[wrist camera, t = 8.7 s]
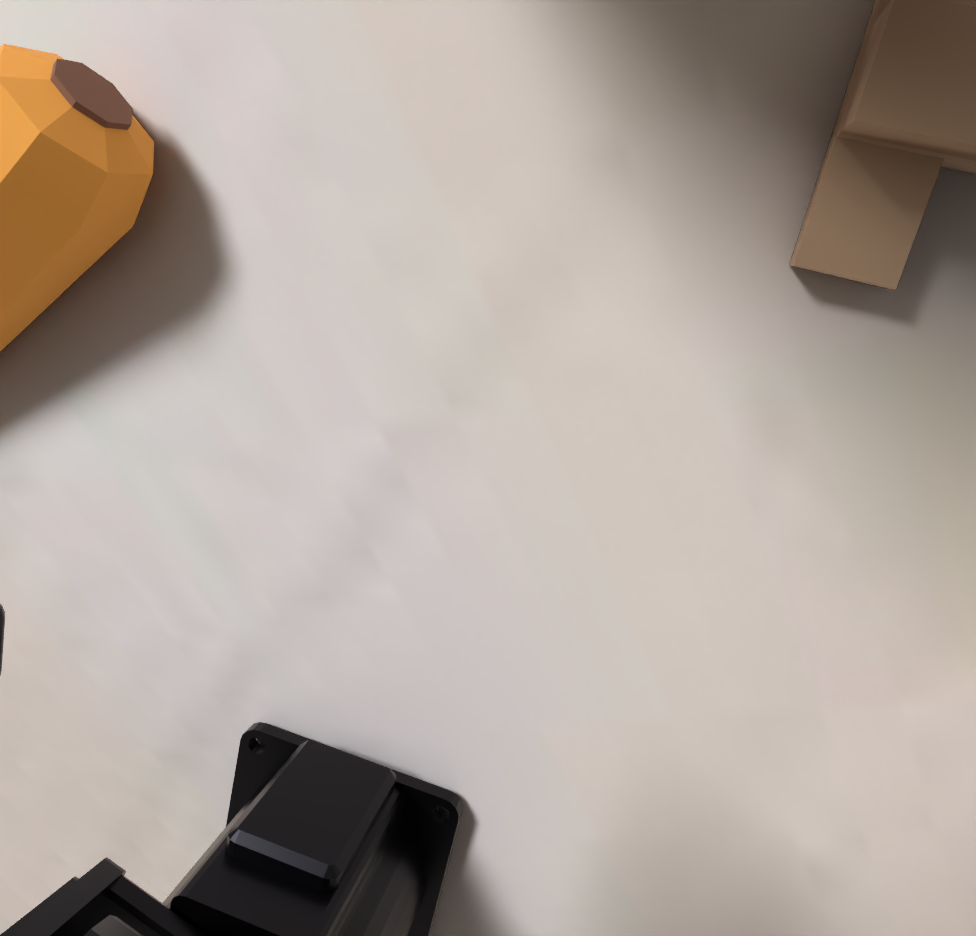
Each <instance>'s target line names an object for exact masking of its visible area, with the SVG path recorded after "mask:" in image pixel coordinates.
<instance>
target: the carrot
mask: <svg viewBox="0 0 976 936" xmlns="http://www.w3.org/2000/svg"><path fill="white" fill-rule="evenodd" d="M132 111H133V109H132V107H131V106H130V105H129V104H128V102H127V101H126V100H125V99H124V97H123V96H122V95H121V94H120V92H119V91H118V90H117V89H116V87H115V86H114V85H113V84H112V83H111V82H109V81H108V80H106V79H105V78H103V77H102V76H100V75H99V74H97V73H96V72H94V71H93V70H91V69H90V68H89V67H87V66H86V65H84V64H83V63H79V62H74V61H68V60H64V59H63V58H61V57H60V56H58V55H57V54H53V53H48V52H42V51H37V50H32V49H27V48H22V47H17V46H12V45H7V44H4V45H2V46H1V47H0V351H2V350H3V349H4V348H5V347H6V346H7V345H8V344H9V343H10V342H11V341H12V340H13V339H14V338H15V337H16V336H17V335H18V334H20V333H21V332H22V331H23V330H24V329H25V328H26V327H27V326H28V325H29V324H30V323H31V322H32V321H33V320H34V319H35V318H36V317H38V316H39V315H40V314H41V313H42V312H43V311H44V310H45V309H46V308H47V307H48V306H49V305H50V304H51V303H52V302H53V301H54V300H56V299H57V298H58V297H59V296H60V295H61V294H62V293H63V292H64V291H65V290H66V289H67V288H68V287H69V286H70V285H71V284H72V283H74V282H75V281H76V280H77V279H78V278H79V277H80V276H81V275H82V274H83V273H84V272H85V271H86V270H87V269H88V268H89V267H91V266H92V265H93V264H94V263H95V262H96V261H97V260H98V259H99V258H100V257H101V256H102V255H103V254H104V253H105V252H106V251H107V250H109V249H110V248H111V247H112V246H113V245H114V244H115V243H116V242H117V241H118V240H119V239H120V238H121V237H122V236H123V235H124V234H125V233H127V232H128V231H129V230H130V229H131V228H132V227H133V226H134V223H135V221H136V218H137V215H138V213H139V210H140V207H141V205H142V202H143V199H144V197H145V194H146V191H147V189H148V186H149V184H150V181H151V178H152V176H153V161H154V141H153V140H152V138H151V137H150V136H149V135H148V133H147V132H146V131H145V130H144V128H143V127H142V126H141V125H140V123H139V122H138V121H137V120H136V119H135V117H134V116H133V115H132Z"/></svg>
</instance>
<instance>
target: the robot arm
mask: <svg viewBox="0 0 976 936" xmlns="http://www.w3.org/2000/svg"><path fill="white" fill-rule="evenodd" d="M4 624H5V612H4V609H3V607H2V605H1V604H0V675H1V669H2V655H3V640H4ZM256 738H259V739H260V740H262V742H263V743H264V745H265V746H262V745H260V744H259V743H258V742H257V741H256ZM437 806H441V807H444V808H446V809H447V810H448V812H449V814H445V813H442V812H440V811H439V810H438V808H437ZM461 815H462V803H461V801H460V799H459V798H458V797H457V795H456V794H454V793H453V792H451V791H449V790H446V789H444V788H441V787H438V786H435V785H433V784H430V783H427V782H425V781H422V780H419V779H416V778H414V777H411V776H408V775H405V774H403V773H400V772H397V771H395V770H392V769H389V768H387V767H384V766H382V765H379V764H376V763H373V762H371V761H368V760H365V759H362V758H360V757H357V756H354V755H352V754H349V753H346V752H343V751H341V750H338V749H335V748H332V747H330V746H327V745H324V744H322V743H319V742H316V741H313V740H310V739H307V738H305V737H302V736H299V735H296V734H294V733H291V732H288V731H286V730H283V729H280V728H277V727H275V726H272V725H269V724H267V723H261V722H259V723H255V724H253V725H252V726H251V727H250V728H249V729H248V730H247V731H246V732H245V733H244V734H243V735H242V738H241V740H240V746H239V752H238V758H237V764H236V770H235V776H234V782H233V788H232V794H231V800H230V806H229V812H228V819H227V825H226V828H225V829H224V830H223V831H222V833H221V834H220V835H219V836H218V837H217V839H216V840H215V841H214V842H213V843H212V845H211V846H210V847H209V848H208V849H207V851H206V852H205V853H204V854H203V855H202V857H201V858H200V859H199V860H198V861H197V863H196V864H195V865H194V866H193V867H192V869H191V870H190V871H189V872H188V873H187V875H186V876H185V877H184V878H183V879H182V881H181V882H180V883H179V884H178V885H177V887H176V888H175V889H174V890H173V891H172V893H171V894H170V895H169V896H168V897H167V898H166V900H165V901H164V902H163V903H161V902H160V901H158V900H157V899H156V898H154V897H153V896H151V895H150V894H149V893H147V892H146V891H144V890H143V889H142V888H140V887H139V886H137V885H136V884H135V883H133V882H132V881H130V880H129V879H128V878H126V877H125V876H124V875H125V873H126V871H125V870H124V869H122V868H121V867H119V866H118V865H117V864H115V863H114V862H112V861H111V860H110V859H108V858H105V859H104V860H102V861H101V862H100V863H99V864H97V865H96V866H95V867H94V868H92V869H91V870H90V871H88V872H87V873H86V874H85V875H83V876H82V877H81V878H80V879H78V878H77V877H74V878H72V879H71V880H70V881H68V882H67V883H66V884H65V885H63V886H62V887H61V888H59V889H58V890H57V891H56V892H54V893H53V894H52V895H51V896H49V897H48V898H47V899H45V900H44V901H43V902H42V903H40V904H39V905H38V906H37V907H35V908H34V909H33V910H32V911H30V912H29V913H28V914H26V915H25V916H24V917H23V918H21V919H20V920H19V921H18V922H16V923H15V924H14V925H12V926H11V927H10V928H9V929H7V930H6V931H5V932H4V933H2V934H1V935H0V936H430V932H431V928H432V924H433V921H434V917H435V913H436V909H437V906H438V902H439V898H440V894H441V890H442V887H443V883H444V879H445V875H446V871H447V868H448V864H449V860H450V856H451V853H452V849H453V845H454V841H455V837H456V834H457V830H458V826H459V822H460V818H461Z"/></svg>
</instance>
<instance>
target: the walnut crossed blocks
mask: <svg viewBox="0 0 976 936" xmlns="http://www.w3.org/2000/svg"><path fill="white" fill-rule="evenodd" d="M941 167H945V168H950V169H954V170H959V171H964V172H969V173H973V174H976V0H876V1H875V4H874V7H873V10H872V13H871V16H870V19H869V22H868V26H867V29H866V32H865V35H864V38H863V41H862V44H861V47H860V50H859V53H858V56H857V59H856V62H855V65H854V68H853V71H852V75H851V78H850V81H849V84H848V87H847V90H846V93H845V96H844V99H843V102H842V105H841V108H840V111H839V114H838V117H837V121H836V124H835V127H834V130H833V133H832V136H831V139H830V142H829V145H828V148H827V151H826V154H825V157H824V160H823V163H822V167H821V170H820V173H819V176H818V179H817V182H816V185H815V188H814V191H813V194H812V197H811V200H810V203H809V206H808V209H807V212H806V216H805V219H804V222H803V225H802V228H801V231H800V234H799V237H798V240H797V243H796V246H795V249H794V252H793V255H792V258H791V262H790V266H794V267H798V268H803V269H807V270H811V271H815V272H819V273H824V274H828V275H832V276H836V277H840V278H845V279H849V280H853V281H857V282H862V283H866V284H870V285H874V286H878V287H883V288H887V289H893V290H896V288H897V285H898V283H899V280H900V277H901V274H902V272H903V269H904V266H905V264H906V261H907V258H908V255H909V253H910V250H911V247H912V244H913V242H914V239H915V236H916V233H917V231H918V228H919V225H920V223H921V220H922V217H923V214H924V212H925V209H926V206H927V203H928V201H929V198H930V195H931V192H932V190H933V187H934V184H935V181H936V179H937V176H938V173H939V171H940V168H941Z"/></svg>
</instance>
